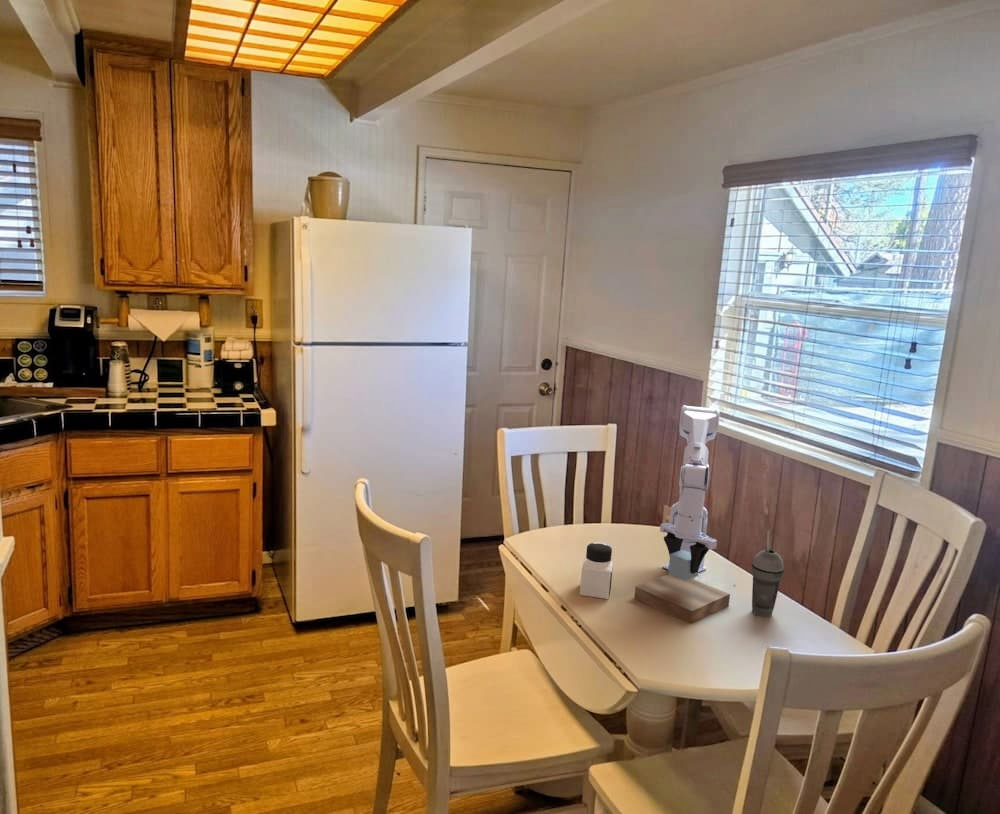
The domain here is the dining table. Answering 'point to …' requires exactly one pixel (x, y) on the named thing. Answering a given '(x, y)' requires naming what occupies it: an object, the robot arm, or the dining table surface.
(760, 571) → the beverage cup
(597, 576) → the medicine bottle
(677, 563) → the slate block
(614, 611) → the dining table surface
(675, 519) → the robot arm
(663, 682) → the dining table surface
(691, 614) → the walnut plinth
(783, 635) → the dining table surface
